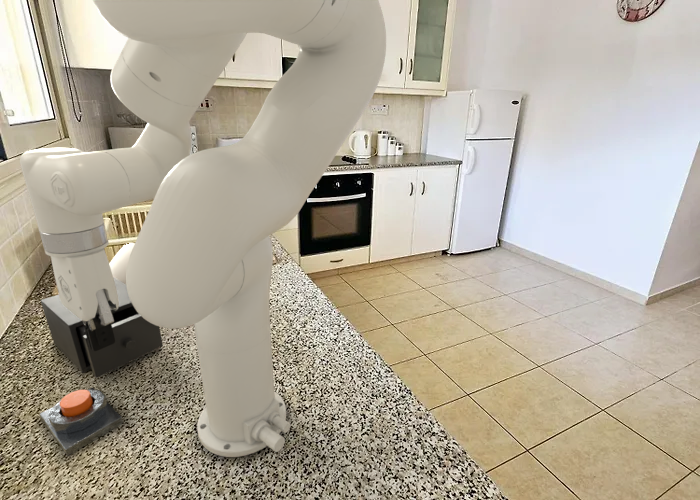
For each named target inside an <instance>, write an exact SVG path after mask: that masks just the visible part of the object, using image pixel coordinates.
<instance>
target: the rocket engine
mask: <svg viewBox="0 0 700 500" xmlns="http://www.w3.org/2000/svg"><path fill="white" fill-rule="evenodd" d="M128 243H129V244H127V243H125V244H126V245H125V244H124V245H123V246H122V247H121V248H120V249H119V250H118V251H117V253H115V255H114V256H113V257H112V259H111V261H109V265H110V268H111V272H112V275H113V278H116V279H117V280H119V281H121V282H122V283H124V284H126V271H127V265H128V261H129V257H130V254H131V252H132V249H133V247H134V244H135V242H128Z"/></svg>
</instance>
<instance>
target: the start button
mask: <svg viewBox="0 0 700 500" xmlns="http://www.w3.org/2000/svg"><path fill="white" fill-rule="evenodd" d="M59 401H60V400H59ZM92 404H93V401H92V397H91V394H90V392H89V391H88V389H77V390H74V391H71V392H69V393H68V394H66V395H64V396H63V397H62V398H61V401H60V407H61V410H62V413H63V415H64V416H65V417H73V416H77V415H80V414H82V413H84V412H85V411H87V410H88V409H89V408H90V407H91V406H92Z"/></svg>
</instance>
